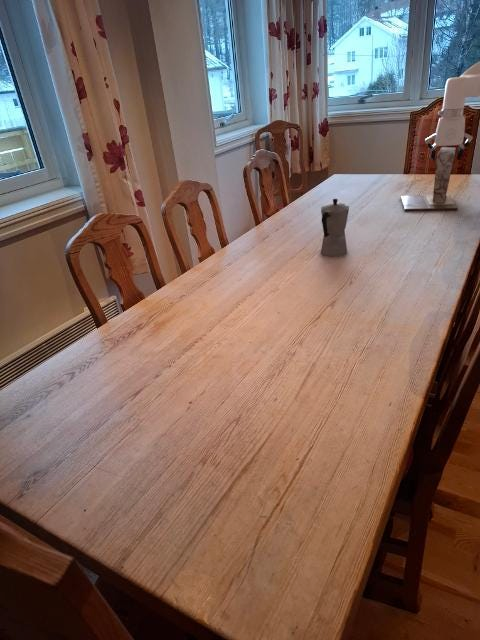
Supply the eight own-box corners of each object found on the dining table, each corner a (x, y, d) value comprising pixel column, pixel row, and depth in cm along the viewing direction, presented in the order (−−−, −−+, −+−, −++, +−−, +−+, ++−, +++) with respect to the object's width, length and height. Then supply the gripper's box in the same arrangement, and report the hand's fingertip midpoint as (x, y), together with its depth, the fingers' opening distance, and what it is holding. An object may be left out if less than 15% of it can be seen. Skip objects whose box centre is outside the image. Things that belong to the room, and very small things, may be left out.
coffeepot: (329, 243, 153) (330, 192, 144) (354, 246, 148) (357, 194, 139) (309, 258, 143) (309, 205, 134) (335, 263, 138) (337, 208, 129)
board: (448, 196, 188) (449, 194, 188) (457, 210, 172) (458, 207, 171) (400, 198, 193) (400, 195, 192) (404, 211, 176) (404, 208, 176)
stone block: (449, 203, 176) (457, 152, 166) (430, 203, 179) (437, 152, 169) (448, 194, 187) (456, 146, 176) (430, 194, 189) (437, 146, 179)
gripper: (429, 116, 165) (423, 162, 174) (479, 113, 161) (470, 160, 169) (427, 114, 171) (421, 159, 180) (474, 110, 167) (466, 157, 176)
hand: (445, 159), depth 175 cm, fingers open, 9 cm apart
